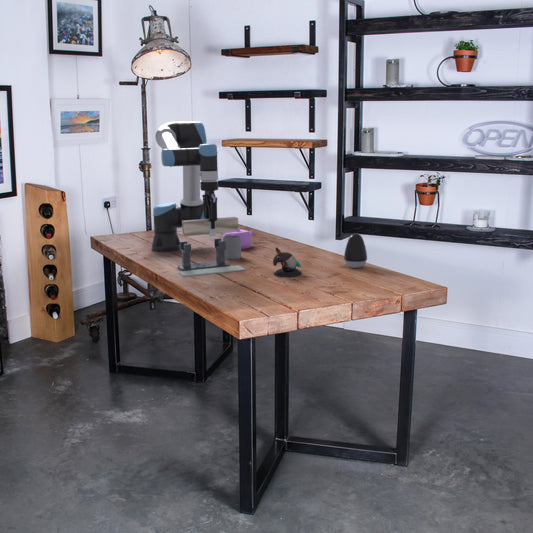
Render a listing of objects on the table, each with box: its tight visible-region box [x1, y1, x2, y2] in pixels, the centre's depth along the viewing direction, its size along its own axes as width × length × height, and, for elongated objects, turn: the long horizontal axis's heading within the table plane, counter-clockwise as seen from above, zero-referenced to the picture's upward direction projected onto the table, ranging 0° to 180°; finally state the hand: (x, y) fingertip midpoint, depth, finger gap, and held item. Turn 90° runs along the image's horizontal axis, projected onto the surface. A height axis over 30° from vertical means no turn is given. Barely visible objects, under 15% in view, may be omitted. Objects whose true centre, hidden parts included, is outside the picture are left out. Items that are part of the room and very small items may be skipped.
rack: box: [177, 238, 231, 271], centre depth 287 cm, size 8×22×12 cm, turn 113°
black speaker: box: [343, 233, 368, 269], centre depth 284 cm, size 10×10×15 cm
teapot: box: [222, 227, 254, 250], centre depth 331 cm, size 18×10×10 cm, turn 124°
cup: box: [222, 235, 242, 260], centre depth 308 cm, size 8×8×10 cm
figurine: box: [272, 246, 302, 278], centre depth 274 cm, size 11×12×12 cm
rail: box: [181, 216, 239, 237], centre depth 276 cm, size 4×24×6 cm, turn 113°
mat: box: [178, 265, 246, 278], centre depth 281 cm, size 8×28×1 cm, turn 113°
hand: (210, 235), depth 277 cm, fingers closed on rail, 4 cm apart
